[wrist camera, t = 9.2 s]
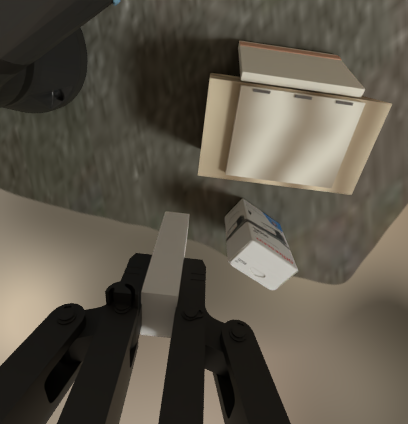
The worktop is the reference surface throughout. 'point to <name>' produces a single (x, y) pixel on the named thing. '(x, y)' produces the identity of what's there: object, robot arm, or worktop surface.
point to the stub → (296, 69)
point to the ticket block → (287, 135)
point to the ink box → (258, 246)
